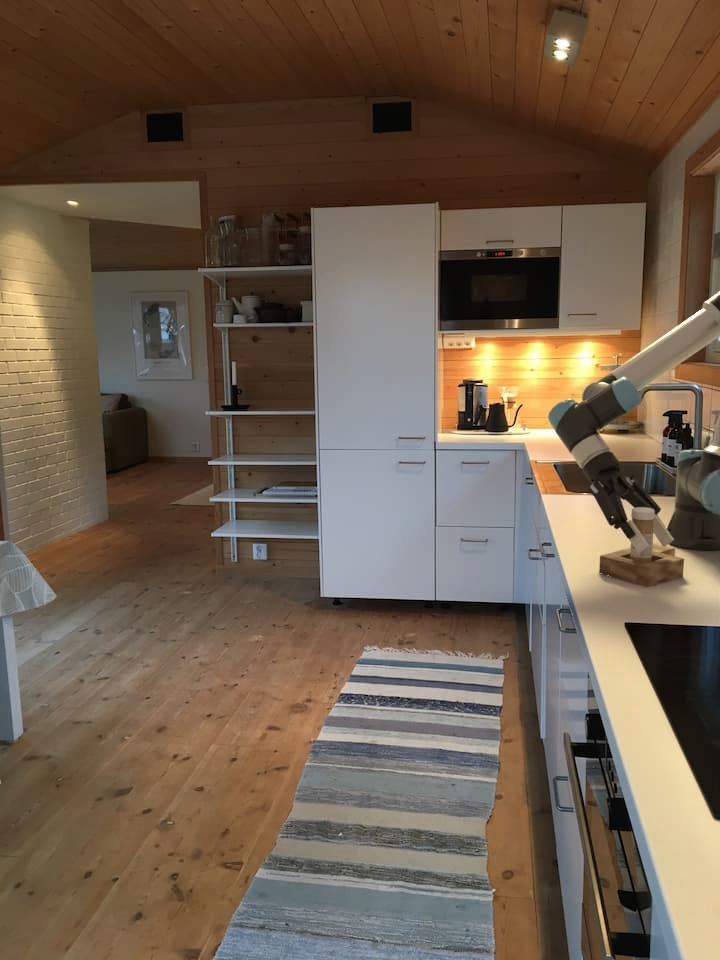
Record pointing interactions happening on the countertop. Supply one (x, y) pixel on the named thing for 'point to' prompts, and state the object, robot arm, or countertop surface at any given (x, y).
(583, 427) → the robot arm
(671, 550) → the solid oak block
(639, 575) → the socket block
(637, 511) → the sprinkles bottle
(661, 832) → the countertop surface
